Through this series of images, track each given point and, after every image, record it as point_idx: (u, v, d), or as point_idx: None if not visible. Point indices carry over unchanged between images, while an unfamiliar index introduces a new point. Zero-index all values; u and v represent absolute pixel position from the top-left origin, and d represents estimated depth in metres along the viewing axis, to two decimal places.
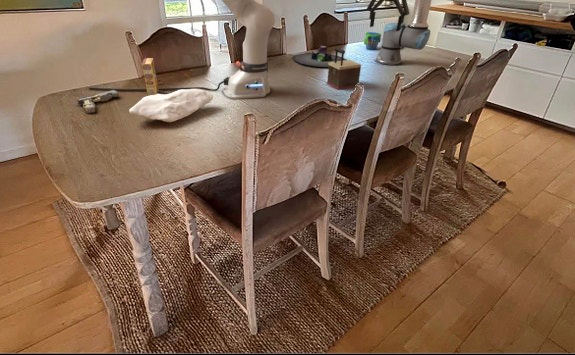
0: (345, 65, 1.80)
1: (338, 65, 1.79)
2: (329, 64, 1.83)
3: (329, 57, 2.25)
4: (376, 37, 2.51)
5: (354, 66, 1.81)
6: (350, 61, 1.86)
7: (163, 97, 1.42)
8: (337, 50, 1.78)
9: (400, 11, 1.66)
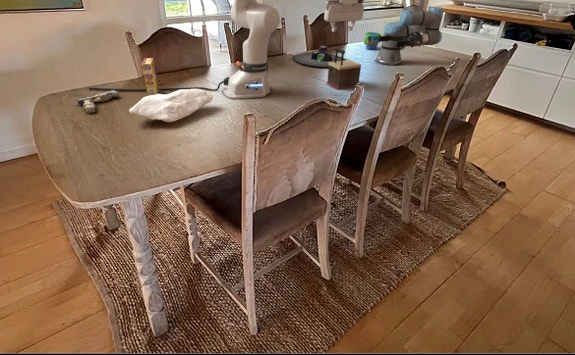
0: (345, 65, 1.80)
1: (338, 65, 1.79)
2: (329, 64, 1.83)
3: (329, 57, 2.25)
4: (376, 37, 2.51)
5: (354, 66, 1.81)
6: (350, 61, 1.86)
7: (163, 97, 1.42)
8: (337, 50, 1.78)
9: None
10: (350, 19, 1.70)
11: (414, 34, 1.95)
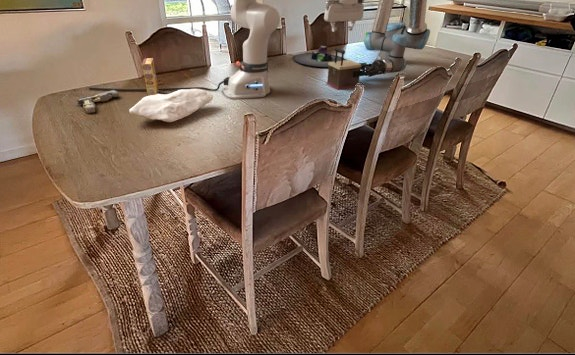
0: (345, 65, 1.80)
1: (338, 65, 1.79)
2: (329, 64, 1.83)
3: (329, 57, 2.25)
4: None
5: (354, 66, 1.81)
6: (350, 61, 1.86)
7: (163, 97, 1.42)
8: (337, 50, 1.78)
9: None
10: (350, 19, 1.70)
11: (377, 62, 1.92)
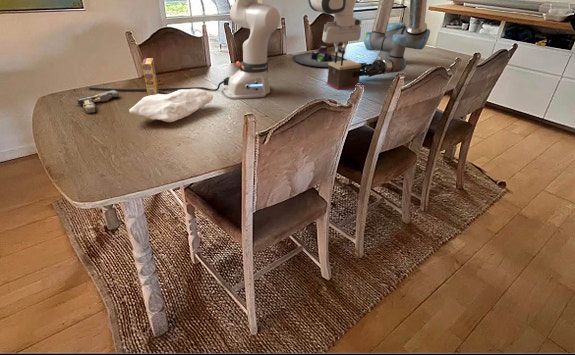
0: (345, 65, 1.80)
1: (338, 65, 1.79)
2: (329, 64, 1.83)
3: (329, 57, 2.25)
4: None
5: (354, 66, 1.81)
6: (350, 61, 1.86)
7: (163, 97, 1.42)
8: None
9: None
10: (348, 40, 1.75)
11: (377, 62, 1.92)
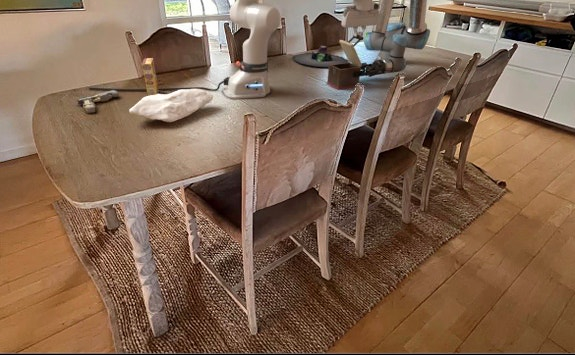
0: None
1: None
2: (340, 41, 1.80)
3: (329, 57, 2.25)
4: None
5: (358, 59, 1.80)
6: None
7: (163, 97, 1.42)
8: None
9: None
10: (366, 24, 1.76)
11: (377, 63, 1.92)
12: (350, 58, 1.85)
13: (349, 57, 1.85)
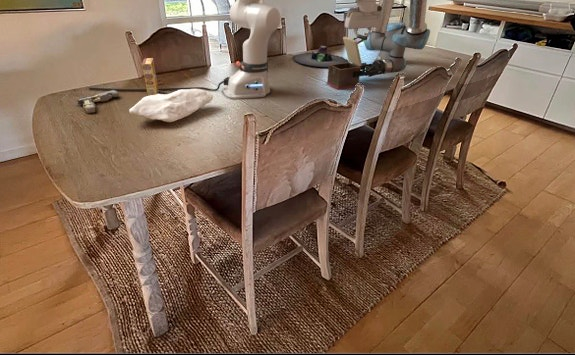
0: None
1: None
2: (344, 37, 1.80)
3: (329, 57, 2.25)
4: None
5: (359, 58, 1.80)
6: None
7: (163, 97, 1.42)
8: (360, 35, 1.80)
9: None
10: (369, 26, 1.77)
11: (377, 63, 1.92)
12: (351, 58, 1.85)
13: (350, 56, 1.85)
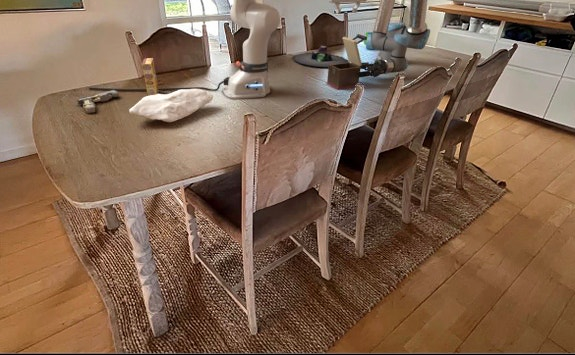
0: None
1: None
2: (344, 38, 1.80)
3: (329, 57, 2.25)
4: None
5: (359, 58, 1.80)
6: None
7: (163, 97, 1.42)
8: (360, 35, 1.80)
9: None
10: (355, 0, 1.66)
11: (379, 62, 1.93)
12: (350, 58, 1.85)
13: (350, 56, 1.85)
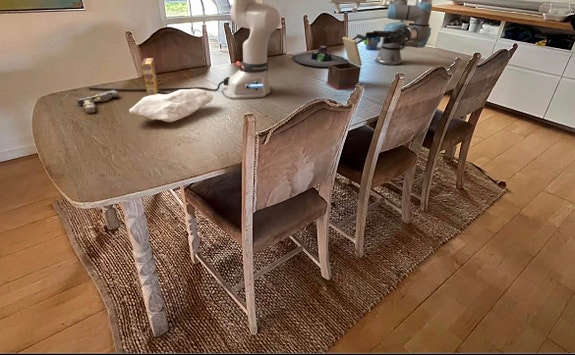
0: None
1: None
2: (344, 38, 1.80)
3: (329, 57, 2.25)
4: (376, 37, 2.51)
5: (359, 58, 1.80)
6: None
7: (163, 97, 1.42)
8: (360, 35, 1.80)
9: None
10: (355, 0, 1.66)
11: (402, 30, 1.90)
12: (350, 58, 1.85)
13: (350, 56, 1.85)
